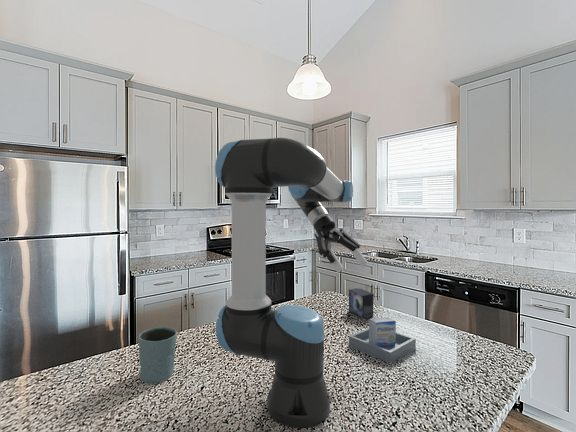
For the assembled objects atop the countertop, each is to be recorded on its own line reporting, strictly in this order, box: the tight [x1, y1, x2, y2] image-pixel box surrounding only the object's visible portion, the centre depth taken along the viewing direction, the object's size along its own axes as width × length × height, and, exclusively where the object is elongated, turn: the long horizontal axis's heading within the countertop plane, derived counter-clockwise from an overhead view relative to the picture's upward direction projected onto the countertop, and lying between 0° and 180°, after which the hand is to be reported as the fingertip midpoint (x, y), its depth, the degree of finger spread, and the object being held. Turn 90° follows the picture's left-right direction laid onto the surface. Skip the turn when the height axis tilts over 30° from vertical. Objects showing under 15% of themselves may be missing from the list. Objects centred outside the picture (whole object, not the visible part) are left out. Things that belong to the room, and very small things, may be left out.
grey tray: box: [348, 327, 417, 364], centre depth 109 cm, size 16×16×4 cm
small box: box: [348, 287, 375, 320], centre depth 143 cm, size 11×6×10 cm, turn 25°
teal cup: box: [137, 326, 178, 384], centre depth 90 cm, size 10×10×12 cm
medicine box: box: [368, 316, 397, 347], centre depth 109 cm, size 8×4×9 cm, turn 105°
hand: (353, 267), depth 108 cm, fingers open, 13 cm apart
